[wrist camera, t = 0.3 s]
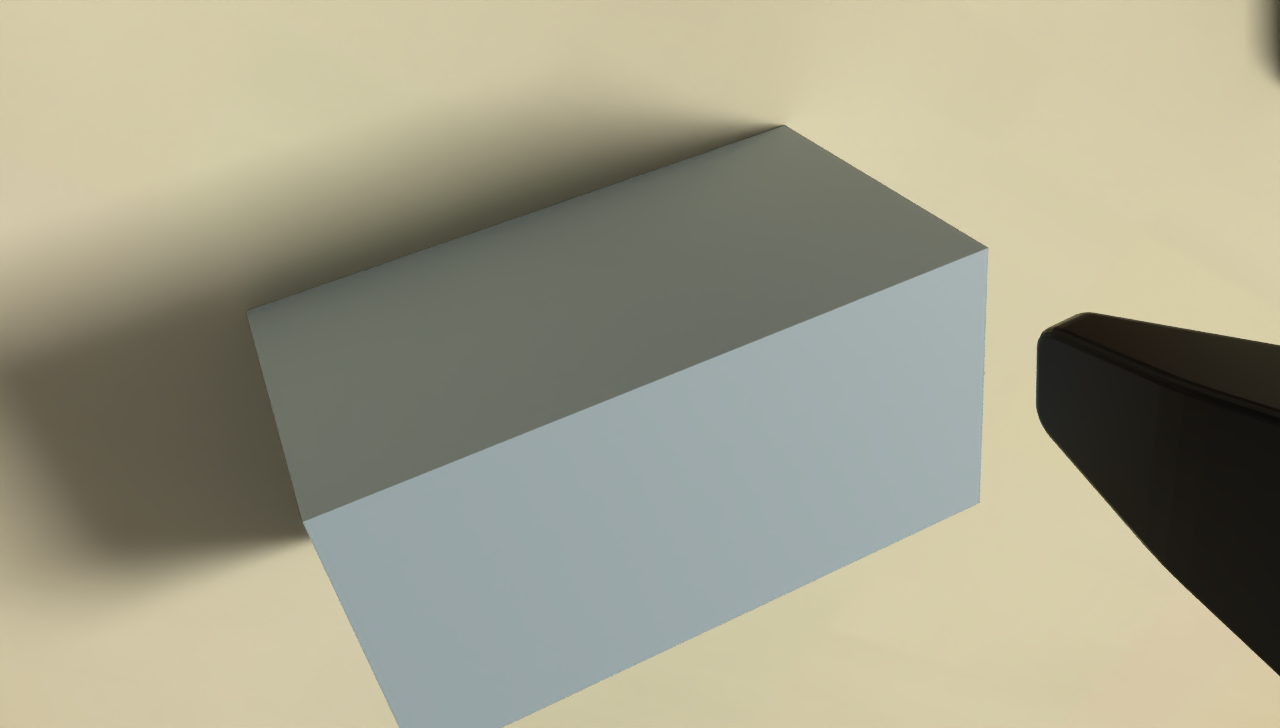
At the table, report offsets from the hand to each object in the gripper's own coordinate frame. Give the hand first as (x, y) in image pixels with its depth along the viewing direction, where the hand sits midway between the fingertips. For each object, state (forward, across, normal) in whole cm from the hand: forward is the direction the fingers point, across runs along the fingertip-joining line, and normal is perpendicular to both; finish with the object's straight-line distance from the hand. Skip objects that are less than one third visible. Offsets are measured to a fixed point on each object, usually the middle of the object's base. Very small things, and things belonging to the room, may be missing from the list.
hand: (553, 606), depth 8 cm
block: (+14, -4, +7) cm, 16 cm away
